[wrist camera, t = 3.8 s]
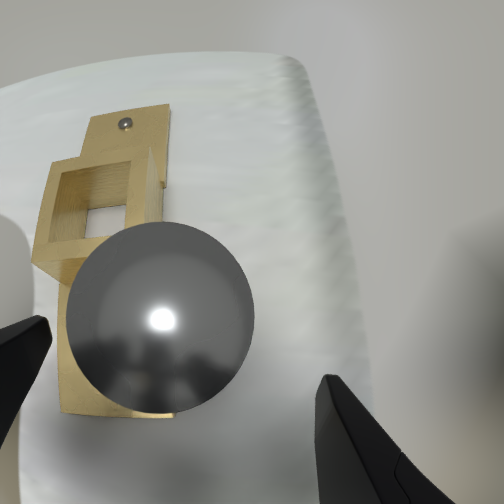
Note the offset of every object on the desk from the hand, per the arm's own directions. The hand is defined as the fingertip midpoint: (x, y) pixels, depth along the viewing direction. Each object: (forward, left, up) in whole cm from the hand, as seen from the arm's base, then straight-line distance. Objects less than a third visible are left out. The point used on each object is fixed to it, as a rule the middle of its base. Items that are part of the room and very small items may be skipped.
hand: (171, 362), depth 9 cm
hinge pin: (+1, 0, -8) cm, 9 cm away
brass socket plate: (+4, +9, -8) cm, 13 cm away
